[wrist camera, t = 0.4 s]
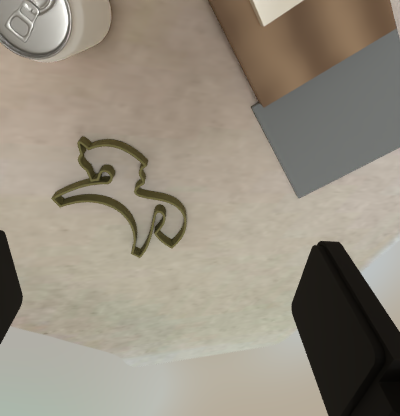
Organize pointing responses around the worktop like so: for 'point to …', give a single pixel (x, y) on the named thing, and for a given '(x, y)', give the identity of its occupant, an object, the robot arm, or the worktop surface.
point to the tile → (271, 9)
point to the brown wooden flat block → (299, 39)
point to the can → (53, 27)
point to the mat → (338, 117)
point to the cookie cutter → (110, 202)
